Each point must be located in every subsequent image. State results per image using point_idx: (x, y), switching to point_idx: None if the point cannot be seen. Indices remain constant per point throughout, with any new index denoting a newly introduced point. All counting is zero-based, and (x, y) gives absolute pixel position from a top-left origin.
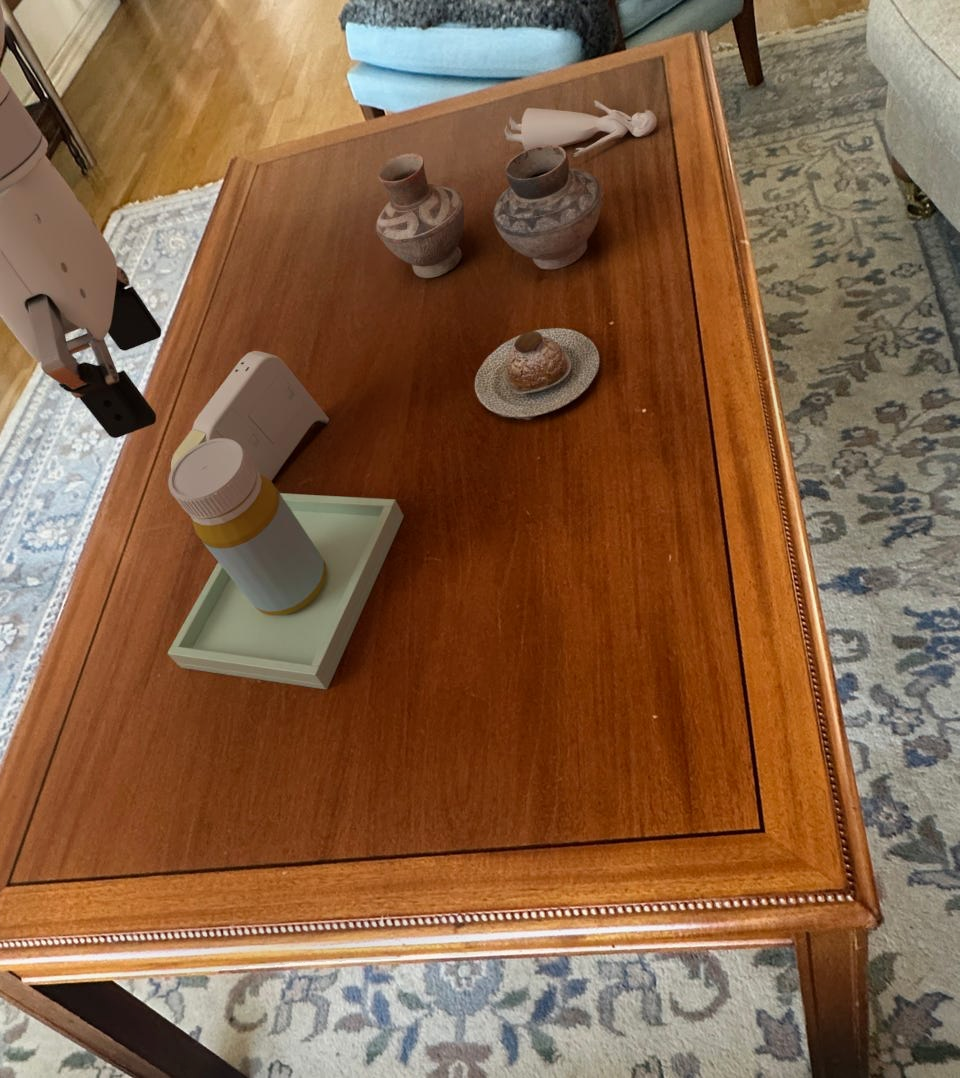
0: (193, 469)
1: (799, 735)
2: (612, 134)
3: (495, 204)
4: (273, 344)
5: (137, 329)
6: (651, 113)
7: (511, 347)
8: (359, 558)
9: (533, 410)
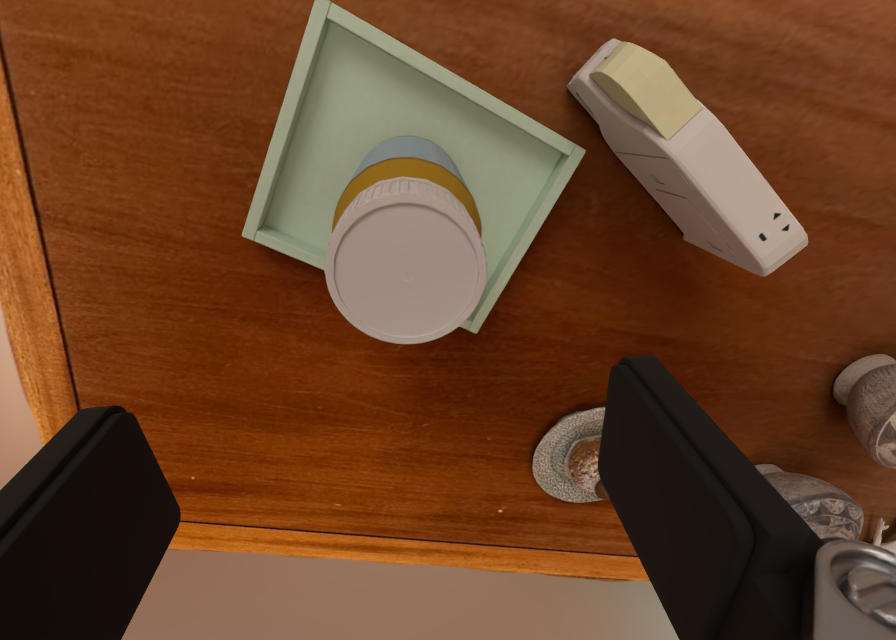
0: (417, 246)
1: (172, 540)
2: None
3: (848, 499)
4: None
5: (626, 477)
6: None
7: None
8: None
9: (543, 450)
